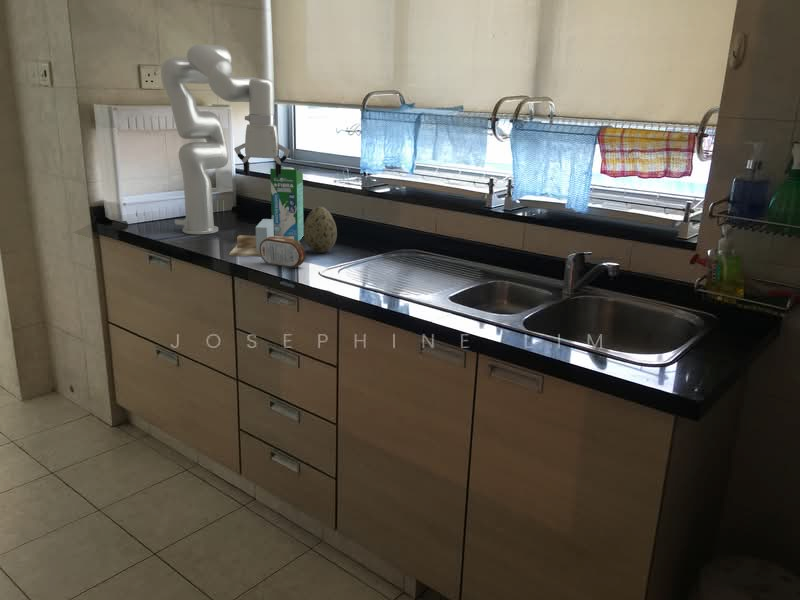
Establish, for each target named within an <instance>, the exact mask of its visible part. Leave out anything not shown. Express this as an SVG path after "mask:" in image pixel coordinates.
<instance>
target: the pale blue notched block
mask: <svg viewBox="0 0 800 600" xmlns="http://www.w3.org/2000/svg"><path fill="white" fill-rule="evenodd" d="M255 236H256V252H260V250H259V248H260V244H261V242H262V241H263V240H265V239H267V238H268V237H274V222H273V219H272V218H263V219H261V221H259V223H257V225H256V226H255Z"/></svg>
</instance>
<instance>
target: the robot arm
mask: <svg viewBox="0 0 800 600" xmlns="http://www.w3.org/2000/svg"><path fill="white" fill-rule="evenodd" d="M232 60H233V59H232V55H231V52H230V51H229V49H227V48H226V47H225V46H223V45H221V44H208V43H206V44H205V43H198V44H194V45H192V46H190V48H189V49H188V50H187V53H186V57H185V56H175V57H170V58H167V59H165V60H164V61H163V62H162V65H161V69H160V78H161V82H162V86H163V89H164V90H165V93H166V95H167V97H168V101H169V102H170V106H171V111H172V116H173V119H174V123H175V128H176V131H177V134H178V136H179V137H180V138H182V139H184V140H201V139H202V140H205V141H199V142H198V141H197V142H196V141H195V142H187V143H185V144H183V145H182V146H181V147H180V148H179V151H178V160H179V164H180V168H181V172H182V179H183V181H182V182H183V191H184V192H183V193H184V196H183V197H184V207H185V208H184V209H185V218H184V219H174V224H175V226H179V227H181V226H182V227H183V228H182V231H181V232H182V233H184V234H188V235H209V234H211V235H212V234H215V233H217V232H219V227H218V226H217V225H215V224H214V223H215V222H214V207H213V190H212V189H213V188H212V187H213V186H212V181H211V179H210V176H209V175H208V174H207V172H206V170H214V169H222V168H224V167H226V166H227V164H228V161H229V151H228V146H227V142H226V137H225V132H224V129H223V125H222V121H221V120H220V118H219V116H218V115H217V114H216V113H215V112H212V111H209V110H208V111H206V110H205V111H200V110H199V109H198V106H197V105H198V104H197V102H196V101H197V100H196V98H195V96H194V95H193V93H192V92H191V90H190V89H189V88H188V87H187V86H186V85H185V84H197V85H198V84H199V85H200V84H202V85H204V84H205V85H206V84H208V85H209V88H210V90H211V92H213V94H214V95H216V96H218V97H219V98H220V99H222V100H224V101H225V102H229V103H241V102H242V103H243V102H244V103H248V104H249V105H248V111H249V114H248V115H244V121H246V122H247V121H248V122H249V123H248V124H246V128H245V135H244V136H245V137H244V138H245V139H244V142H243V143H242V144H240V145H238V146H236V147H234V148H233V150H234V152H235V154H236V155H237V157H238V158H239V159H240V161H242V163H243V173H245V176H249V175H250V162H249V160H250V159H251V158H256V159H273V160H274V161H275V162H276V164H275V169H276V177H279V176H280V174H281V169H282V163H284V161H286V160H287V159H288V156H289V155H290V153H291V150H290V149H289V148H287V147H285V146H283V145H281V144H280V143H279V135H278V128H277V125H275V93H274V92H275V86H274V82H273V80H271V79H269V78H268V79H267V78H258V77H253V76H252V77H251V76H232V74H233V67H232ZM243 149H244V154H242V152H241V151H242V150H243ZM280 151H282V152H283V153H284V154H283V156H279V154H280Z"/></svg>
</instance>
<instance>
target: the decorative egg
mask: <svg viewBox="0 0 800 600" xmlns="http://www.w3.org/2000/svg"><path fill="white" fill-rule="evenodd" d="M303 228H304V231H303V232H304V237H303V239H304V241H305V243H306V246H307V247H308V248H309V249H310V250H312V251H313V252H315V253H320V254H322V253H326V252H328V251H329V250H331V249H332V248H333V246H334V245H335V243H336V241H337V237H338V231H337V230H338V229H337V228H338V227H337V225H336V221H335V219H334V217H333V215H332V214H331V213H330V211H329V210H328V209H327V208H326V207H323V206H319V205H318V206H316V207H314V208H313V209H312V210H311V211H310V212H309V213H308V215H307V217H306V219H305V222H304V224H303Z"/></svg>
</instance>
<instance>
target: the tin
mask: <svg viewBox="0 0 800 600" xmlns="http://www.w3.org/2000/svg"><path fill="white" fill-rule="evenodd" d="M299 242H300V241H296V240H292V239H286V238H279V237H268V238H267V239H265V240H263V241H262V242H261V244H260V248H259V250H260V255H261V256H260V257H261V259H262V260H263V261H264V262H265V263H266V264H267V265H272V266H278V267H283V266H284V268H288V267H290V269H294V268H296V267H299V266H301V265H302V264H303V263H304V262H305V259H306V251H305V248H304V247H303V245H302V244H301V243H299Z"/></svg>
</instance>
